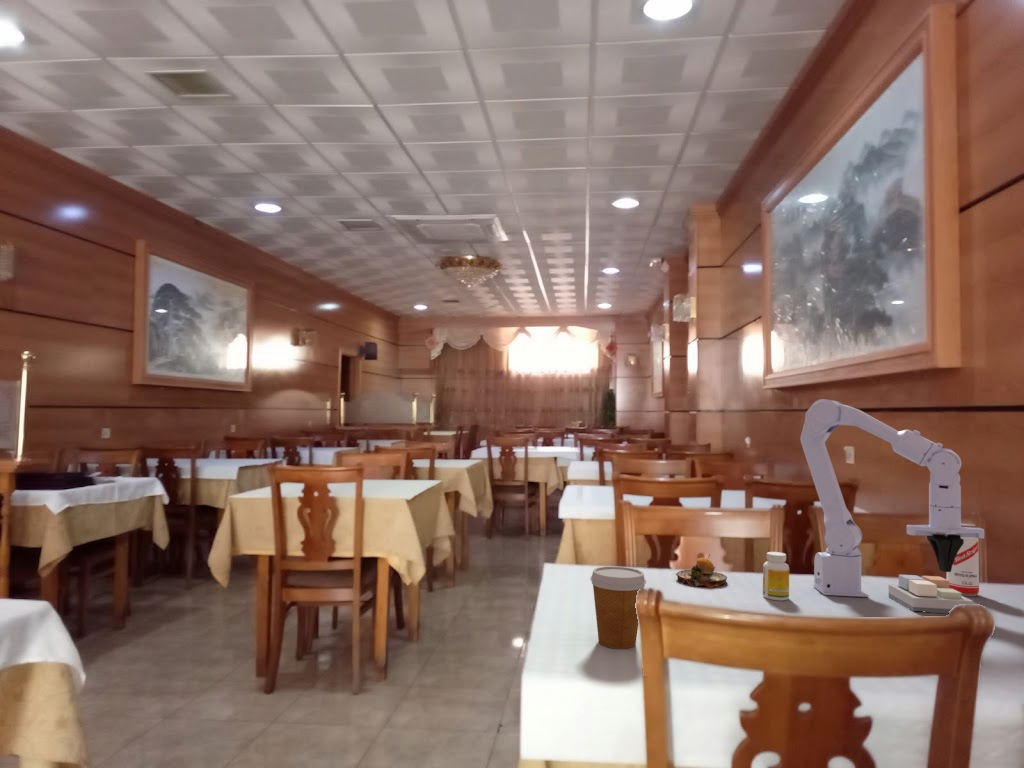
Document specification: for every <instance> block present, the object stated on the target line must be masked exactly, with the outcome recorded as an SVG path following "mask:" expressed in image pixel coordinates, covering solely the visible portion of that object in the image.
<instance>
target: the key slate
mask: <svg viewBox="0 0 1024 768" xmlns="http://www.w3.org/2000/svg"><path fill="white" fill-rule="evenodd" d="M909 580H925V579H923V578H922V576H919V575H917V574H916V575H915V574H898V585H899V586H900V587H902V588H904V589H906V590H909Z"/></svg>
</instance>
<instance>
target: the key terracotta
mask: <svg viewBox="0 0 1024 768" xmlns="http://www.w3.org/2000/svg"><path fill="white" fill-rule="evenodd" d="M921 578H923V579H925V580H926V581H930V582H932V583H934V584H936V585H937V588H949V580H947V578H944V577H942V576H939V575H938V576H937V575H935V576H934V575H921Z"/></svg>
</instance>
